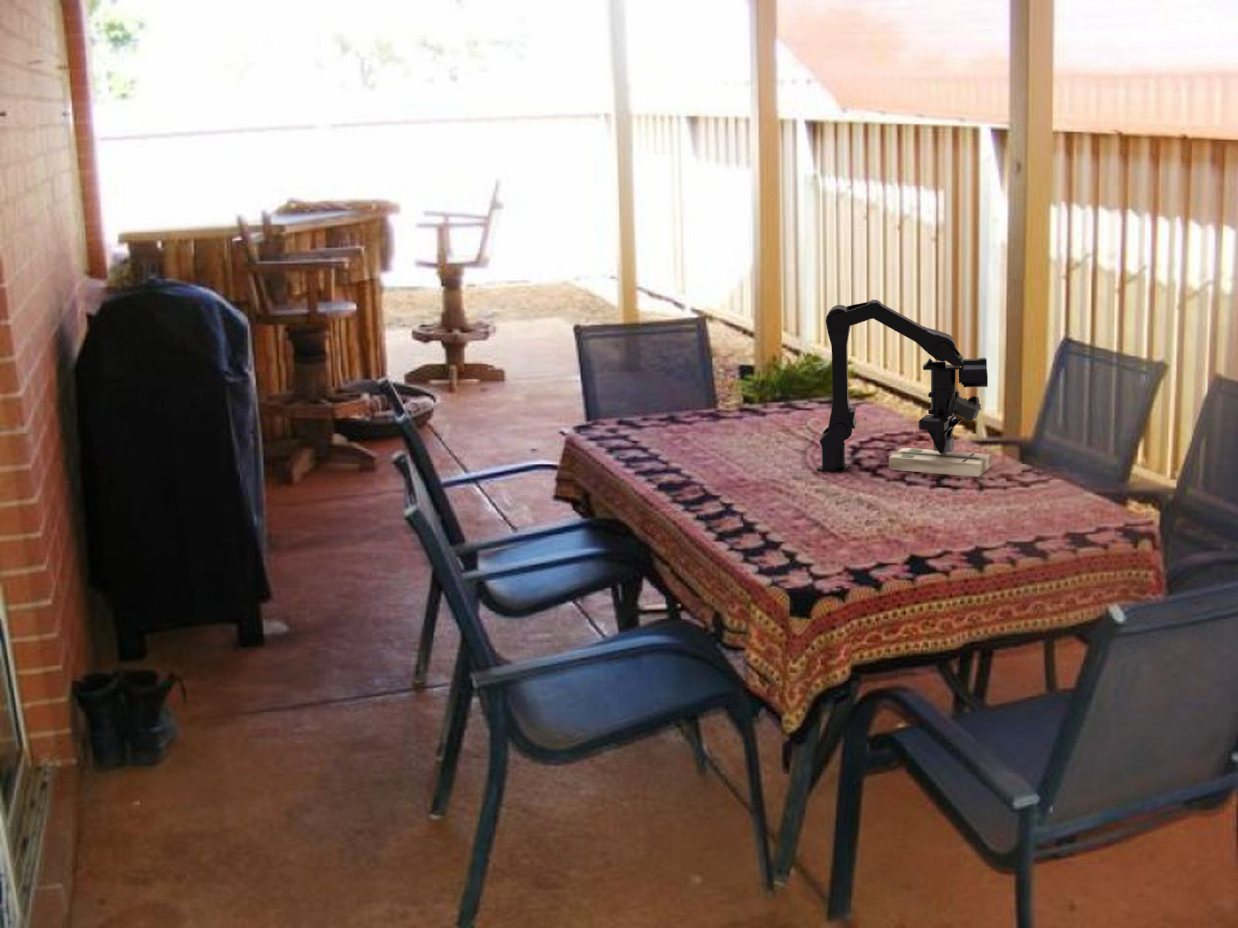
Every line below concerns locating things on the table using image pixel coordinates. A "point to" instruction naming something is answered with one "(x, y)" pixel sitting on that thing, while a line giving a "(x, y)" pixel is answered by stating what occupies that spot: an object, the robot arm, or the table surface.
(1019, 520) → the table surface
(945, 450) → the fader knob
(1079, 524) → the table surface
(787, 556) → the table surface
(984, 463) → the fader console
